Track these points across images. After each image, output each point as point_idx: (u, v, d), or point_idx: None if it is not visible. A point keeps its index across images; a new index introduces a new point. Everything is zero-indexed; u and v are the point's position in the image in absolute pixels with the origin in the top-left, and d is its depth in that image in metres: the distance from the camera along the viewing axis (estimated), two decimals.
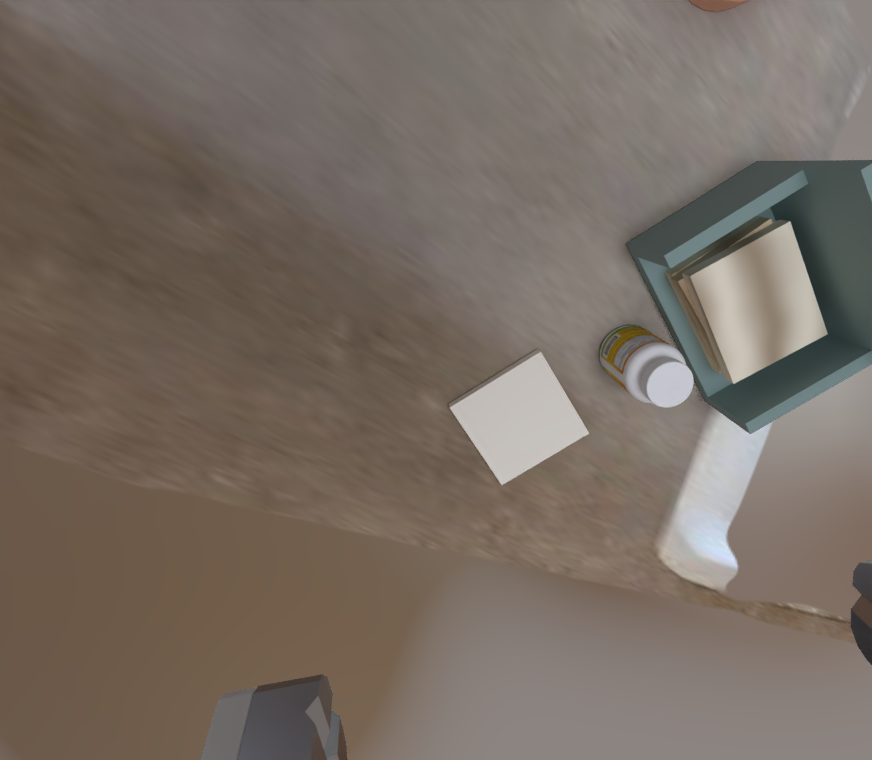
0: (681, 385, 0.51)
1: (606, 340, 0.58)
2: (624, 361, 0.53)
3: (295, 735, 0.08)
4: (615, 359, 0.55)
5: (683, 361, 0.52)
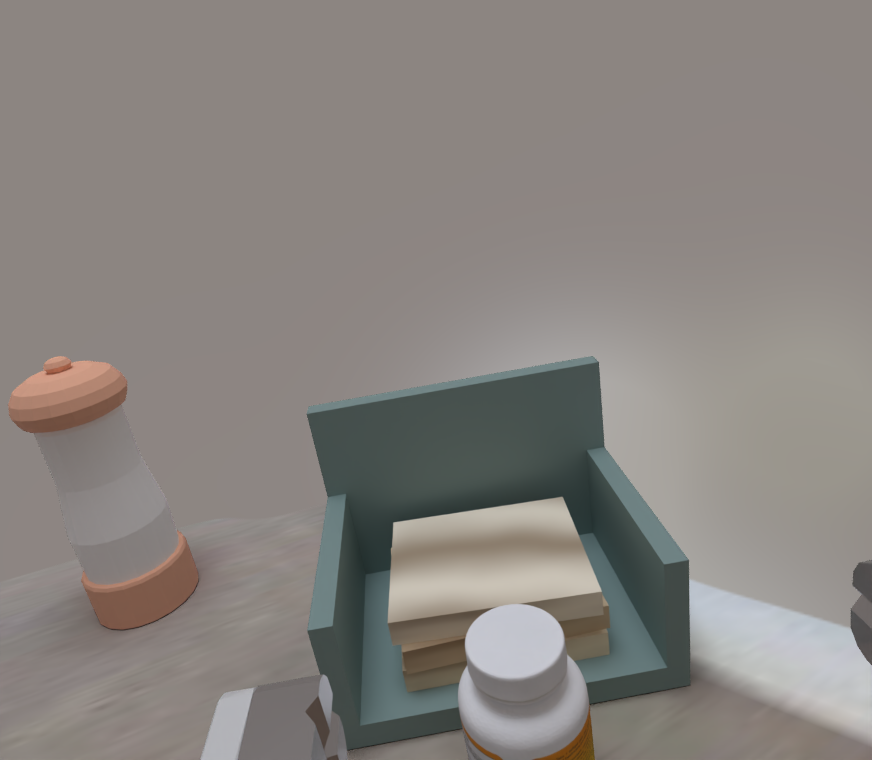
0: (523, 621, 0.25)
1: None
2: (480, 752, 0.24)
3: (295, 735, 0.08)
4: None
5: None
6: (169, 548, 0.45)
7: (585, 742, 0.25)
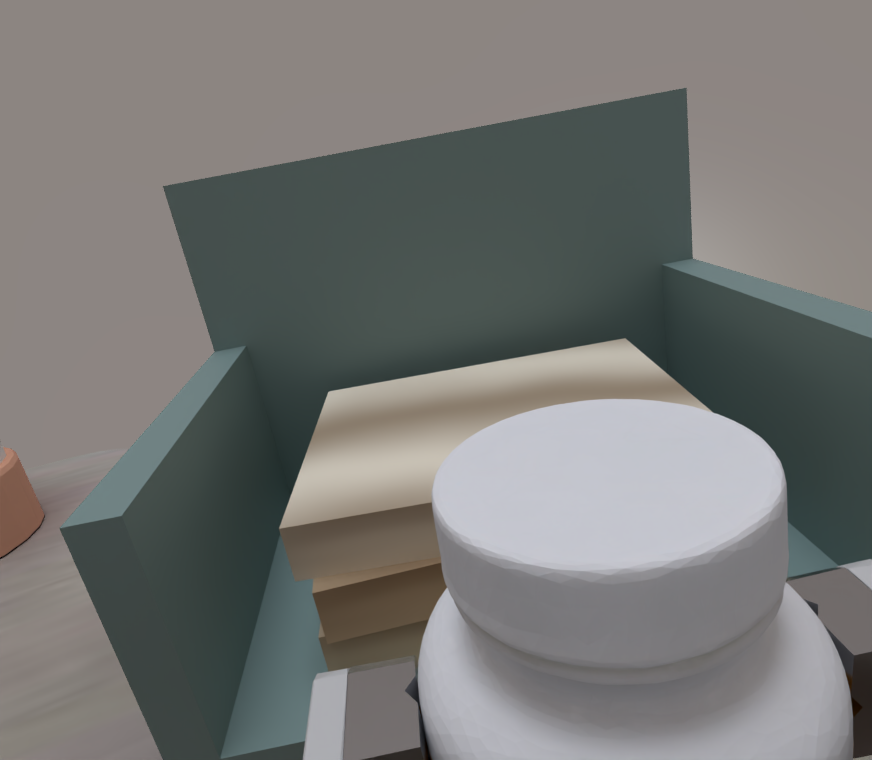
0: (617, 427, 0.08)
1: None
2: None
3: (399, 713, 0.08)
4: None
5: None
6: None
7: None
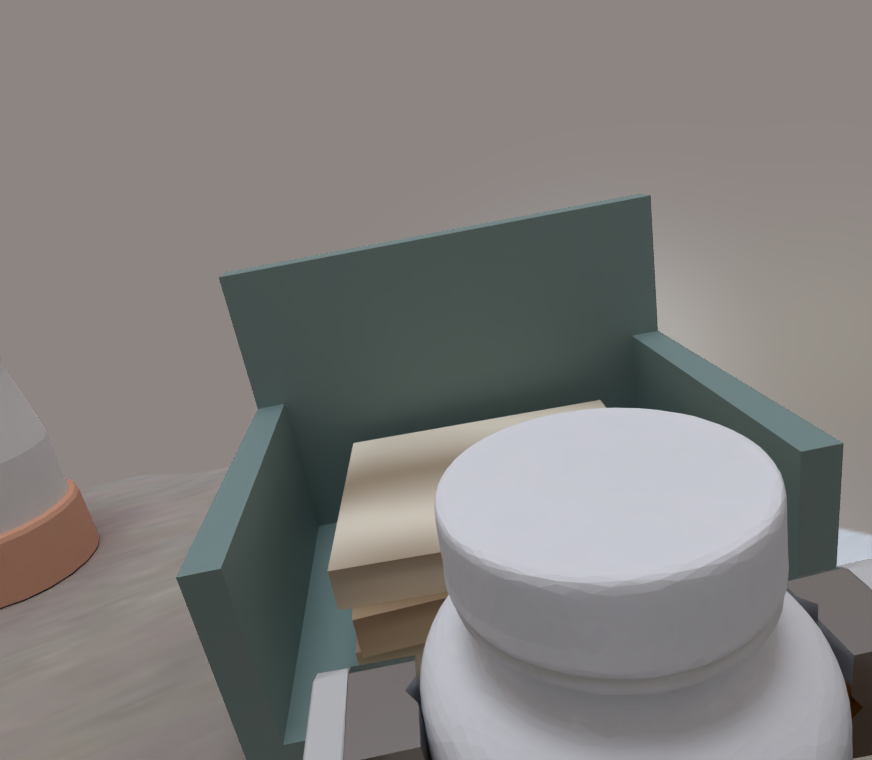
0: (618, 437, 0.08)
1: None
2: None
3: (400, 713, 0.08)
4: None
5: None
6: (47, 498, 0.32)
7: None
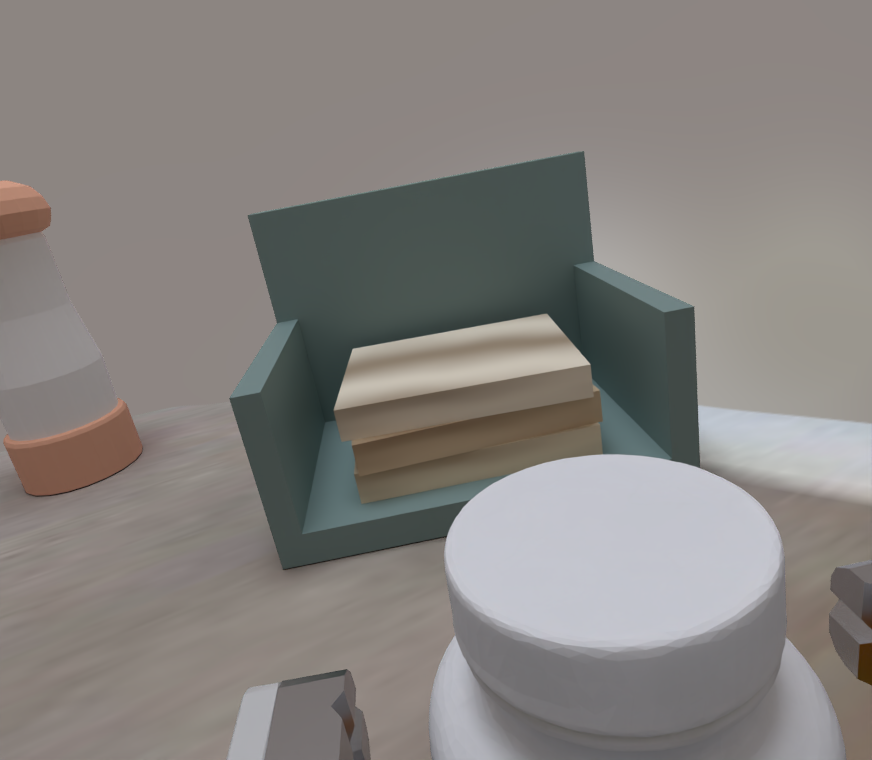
0: (622, 487, 0.08)
1: None
2: None
3: (322, 729, 0.08)
4: None
5: None
6: (104, 406, 0.40)
7: None
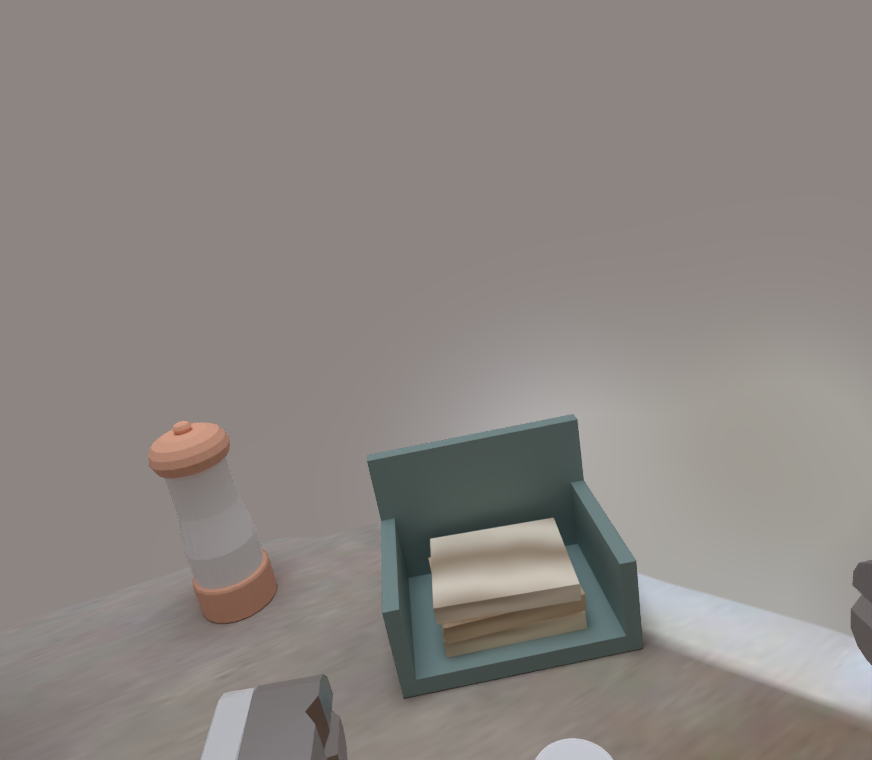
0: (582, 758, 0.28)
1: None
2: None
3: (295, 735, 0.08)
4: None
5: None
6: (258, 561, 0.59)
7: None
